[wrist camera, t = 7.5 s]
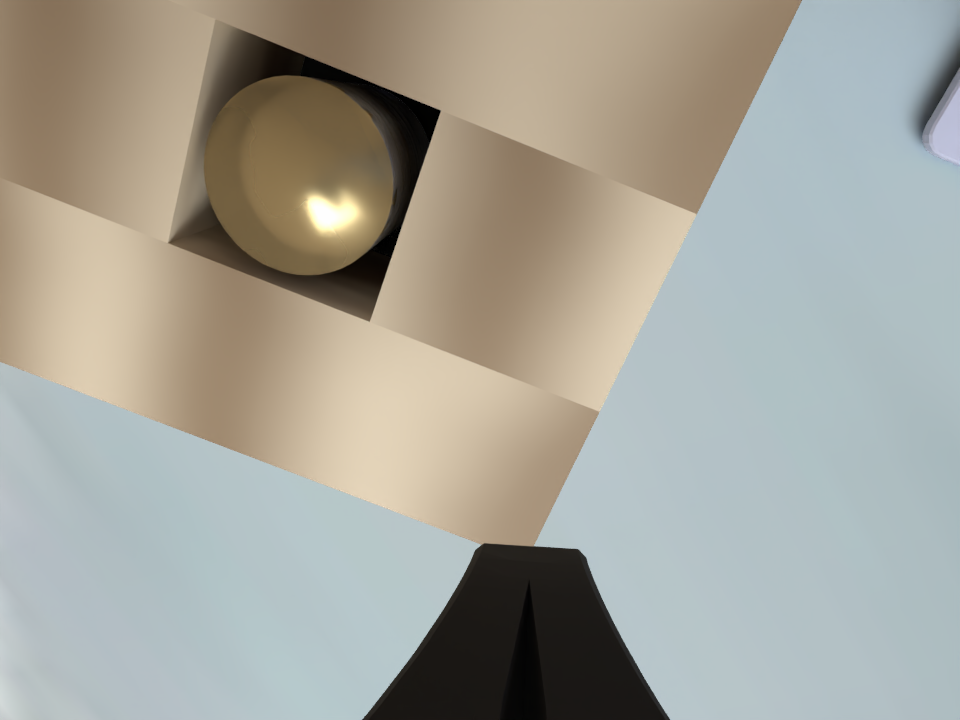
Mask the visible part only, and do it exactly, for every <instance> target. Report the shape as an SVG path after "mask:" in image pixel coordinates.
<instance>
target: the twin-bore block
mask: <svg viewBox="0 0 960 720" xmlns="http://www.w3.org/2000/svg"><path fill="white" fill-rule="evenodd" d="M801 1H802V0H0V362H2V363H5V364H8V365H10V366H13V367H16V368H18V369H21V370H23V371H26V372H29V373H31V374H34V375H37V376H39V377H42V378H45V379H47V380H50V381H52V382H55V383H58V384H60V385H63V386H66V387H68V388H71V389H73V390H76V391H79V392H81V393H84V394H87V395H89V396H92V397H95V398H97V399H100V400H102V401H105V402H108V403H110V404H113V405H116V406H118V407H121V408H123V409H126V410H129V411H131V412H134V413H137V414H139V415H142V416H145V417H147V418H150V419H152V420H155V421H158V422H160V423H163V424H166V425H168V426H171V427H174V428H176V429H179V430H181V431H184V432H187V433H189V434H192V435H195V436H197V437H200V438H202V439H205V440H208V441H210V442H213V443H216V444H218V445H221V446H224V447H226V448H229V449H231V450H234V451H237V452H239V453H242V454H245V455H247V456H250V457H253V458H255V459H258V460H260V461H263V462H266V463H268V464H271V465H274V466H276V467H279V468H281V469H284V470H287V471H289V472H292V473H295V474H297V475H300V476H303V477H305V478H308V479H310V480H313V481H316V482H318V483H321V484H324V485H326V486H329V487H331V488H334V489H337V490H339V491H342V492H345V493H347V494H350V495H353V496H355V497H358V498H360V499H363V500H366V501H368V502H371V503H374V504H376V505H379V506H382V507H384V508H387V509H389V510H392V511H395V512H397V513H400V514H403V515H405V516H408V517H410V518H413V519H416V520H418V521H421V522H424V523H426V524H429V525H432V526H434V527H437V528H439V529H442V530H445V531H447V532H450V533H453V534H455V535H458V536H460V537H463V538H466V539H468V540H471V541H474V542H476V543H479V544H482V545H483V544H484V543H489V544H504V545H520V546H534V544H535V542H536V540H537V538H538V536H539V534H540V532H541V530H542V528H543V526H544V524H545V522H546V520H547V518H548V516H549V514H550V511H551V509H552V507H553V505H554V503H555V501H556V499H557V497H558V495H559V493H560V491H561V489H562V487H563V485H564V483H565V481H566V479H567V477H568V475H569V473H570V471H571V469H572V467H573V465H574V463H575V461H576V459H577V457H578V455H579V453H580V450H581V448H582V446H583V444H584V442H585V440H586V438H587V436H588V434H589V432H590V430H591V428H592V426H593V424H594V422H595V420H596V418H597V416H598V414H599V412H600V410H601V408H602V406H603V404H604V402H605V400H606V398H607V396H608V394H609V392H610V389H611V387H612V385H613V383H614V381H615V379H616V377H617V375H618V373H619V371H620V369H621V367H622V365H623V363H624V361H625V359H626V357H627V355H628V353H629V351H630V349H631V347H632V345H633V343H634V341H635V339H636V337H637V335H638V333H639V331H640V329H641V326H642V324H643V322H644V320H645V318H646V316H647V314H648V312H649V310H650V308H651V306H652V304H653V302H654V300H655V298H656V296H657V294H658V292H659V290H660V288H661V286H662V284H663V282H664V280H665V278H666V276H667V274H668V272H669V270H670V268H671V265H672V263H673V261H674V259H675V257H676V255H677V253H678V251H679V249H680V247H681V245H682V243H683V241H684V239H685V237H686V235H687V233H688V231H689V229H690V227H691V225H692V223H693V221H694V219H695V217H696V215H697V213H698V211H699V209H700V207H701V204H702V202H703V200H704V198H705V196H706V194H707V192H708V190H709V188H710V186H711V184H712V182H713V180H714V178H715V176H716V174H717V172H718V170H719V168H720V166H721V164H722V162H723V160H724V158H725V156H726V154H727V152H728V150H729V148H730V146H731V144H732V141H733V139H734V137H735V135H736V133H737V131H738V129H739V127H740V125H741V123H742V121H743V119H744V117H745V115H746V113H747V111H748V109H749V107H750V105H751V103H752V101H753V99H754V97H755V95H756V93H757V91H758V89H759V87H760V85H761V83H762V80H763V78H764V76H765V74H766V72H767V70H768V68H769V66H770V64H771V62H772V60H773V58H774V56H775V54H776V52H777V50H778V48H779V46H780V44H781V42H782V40H783V38H784V36H785V34H786V32H787V30H788V28H789V26H790V24H791V22H792V19H793V17H794V15H795V13H796V11H797V9H798V7H799V5H800V3H801ZM305 56H308V57H310V58H313V59H315V60H317V61H320V62H322V63H325V64H327V65H330V66H332V67H335V68H337V69H340V70H342V71H345V72H347V73H350V74H352V75H355V76H357V77H359V78H362V79H364V80H367V81H369V82H372V83H374V84H377V85H379V86H382V87H384V88H387V89H389V90H392V91H394V92H396V93H399V94H401V95H404V96H406V97H409V98H411V99H414V100H416V101H419V102H421V103H424V104H426V105H429V106H431V107H434V108H436V109H438V110H441V112H440V115H439V118H438V121H437V124H436V127H435V130H434V133H433V136H432V139H431V142H430V145H429V148H428V151H427V154H426V157H425V160H424V163H423V166H422V169H421V171H420V174H419V177H418V180H417V183H416V186H415V189H414V192H413V195H412V198H411V201H410V204H409V207H408V210H407V213H406V216H405V219H404V222H403V225H402V228H401V231H400V234H399V237H398V240H397V243H396V246H395V249H394V252H393V255H392V258H390V257H388V256H385V255H383V254H380V253H378V252H375V251H372V250H369V251H368V252H366V253H365V254H364V255H363V256H361V257H360V258H358V259H357V260H356V261H354V262H353V263H351V264H349V265H347V266H346V267H344V268H341V269H339V270H336V271H333V272H330V273H325V274H320V275H296V274H291V273H285V272H282V271H279V270H276V269H273V268H271V267H269V266H267V265H264V264H262V263H261V262H259V261H257V260H256V259H254V258H253V257H251V256H250V255H249V254H247V253H246V252H245V251H243V250H242V249H241V248H240V247H239V246H238V245H237V244H236V243H235V242H234V241H233V240H232V239H231V237H230V236H229V235H228V234H227V232H226V231H225V230H224V228H223V227H222V225H221V224H220V222H219V220H218V219H217V217H216V214H215V212H214V210H213V208H212V206H211V203H210V200H209V197H208V194H207V189H206V185H205V178H204V153H205V147H206V142H207V138H208V135H209V132H210V129H211V127H212V125H213V123H214V120H215V119H216V117H217V115H218V114H219V112H220V111H221V109H222V108H223V107H224V106H225V105H226V103H227V102H228V101H229V100H230V99H231V98H232V97H233V96H235V95H236V94H237V93H238V92H239V91H241V90H242V89H244V88H246V87H247V86H249V85H251V84H253V83H255V82H258V81H260V80H263V79H267V78H271V77H276V76H285V75H287V76H300V75H301V71H302V67H303V63H304V59H305Z"/></svg>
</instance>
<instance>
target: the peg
mask: <svg viewBox="0 0 960 720" xmlns="http://www.w3.org/2000/svg"><path fill="white" fill-rule="evenodd" d="M428 148H429V141H428V138H427V135H426V133H425V130H424V128H423V127H422V125H421V123H420V121H419V120H418V118H417V117H416V115H415V114H414V113H413V111H412V110H411V109H410V108H409V107H408V106H407V105H406V104H405V103H404V102H403V101H401V100H400V99H399V98H397V97H396V96H394V95H393V94H391V93H390V92H387V91H385V90H383V89H381V88H378V87H375V86H371V85H366V84H359V83H351V82H343V81H335V80H327V79H319V78H311V77H303V76H287V75H285V76H276V77H271V78H267V79H263V80H260V81H258V82H255V83H253V84H251V85H249V86H247V87H246V88H244V89H242V90H241V91H239V92H238V93H237V94H236V95H235V96H233V97H232V98H231V99H230V100H229V101H228V102H227V103H226V105H225V106H224V107H223V108H222V109H221V111H220V112H219V114H218V115H217V117H216V119H215V120H214V123H213V125H212V127H211V129H210V132H209V135H208V138H207V142H206V147H205V153H204V178H205V185H206V189H207V194H208V197H209V200H210V203H211V206H212V208H213V210H214V212H215V214H216V217H217V219H218V220H219V222H220V224H221V225H222V227H223V228H224V230H225V231H226V232H227V234H228V235H229V236H230V237H231V239H232V240H233V241H234V242H235V243H236V244H237V245H238V246H239V247H240V248H241V249H242V250H243V251H245V252H246V253H247V254H249V255H250V256H251V257H253V258H254V259H256V260H257V261H259V262H261V263H262V264H264V265H267V266H269V267H271V268H273V269H276V270H279V271H282V272H285V273H291V274H296V275H320V274H325V273H330V272H333V271H336V270H339V269H341V268H344V267H346V266H347V265H349V264H351V263H353V262H354V261H356V260H357V259H358V258H360V257H361V256H363V255H364V254H365V253H366V252H368V251H369V250H370V249H371V248H373V247H374V246H375V245H376V244H378V243H379V242H380V241H381V240H383V239H384V238H385V237H387V236H388V235H389V234H390V233H392V232H393V231H394V230H395V229H397V228H398V227H399V226H400V225H402V224H403V222H404V219H405V216H406V213H407V210H408V207H409V204H410V201H411V198H412V195H413V192H414V189H415V186H416V183H417V180H418V177H419V174H420V171H421V169H422V166H423V163H424V160H425V157H426V154H427V151H428Z"/></svg>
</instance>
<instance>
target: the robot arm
mask: <svg viewBox="0 0 960 720" xmlns="http://www.w3.org/2000/svg"><path fill="white" fill-rule="evenodd" d="M922 140H923V145H924V147H925V149H926V151H928V152H929V153H931V154H932V155H934V156H936V157H939V158H941V159H943V160H946V161H948V162H951V163H953V164H955V165H958V166H960V68H959V70H958V71H957V73H956V75H955V76H954V78H953V80H952V82H951V83H950V85H949V87H948V88H947V90H946V92H945V94H944V95H943V97H942V99H941V100H940V102H939V104H938V105H937V107H936V109H935V111H934V112H933V114H932V116H931V117H930V119H929V121H928V123H927V124H926V126H925V129H924V131H923V134H922ZM362 720H670V719H669V717H668V716H667V714H666V713H665V711H664V710H663V708H662V707H661V705H660V703H659V702H658V700H657V698H656V697H655V695H654V694H653V692H652V690H651V689H650V687H649V685H648V684H647V682H646V680H645V679H644V677H643V675H642V673H641V672H640V670H639V668H638V666H637V664H636V663H635V661H634V659H633V657H632V656H631V654H630V652H629V650H628V649H627V647H626V645H625V643H624V642H623V640H622V638H621V636H620V634H619V632H618V630H617V628H616V626H615V624H614V623H613V621H612V618H611V616H610V614H609V612H608V610H607V608H606V606H605V604H604V602H603V600H602V598H601V595H600V593H599V591H598V589H597V586H596V584H595V582H594V579H593V577H592V574H591V571H590V569H589V566H588V563H587V559H586V557H585V556H584V555H583V554H582V553H581V552H580V551H579V550H578V549H566V548H551V547H535V546H520V545H504V544H489V543H484V544H483V545H481V546H480V547H479V548H477V549H476V550H475V552H474V555H473V557H472V559H471V562H470V564H469V566H468V568H467V570H466V572H465V574H464V576H463V577H462V579H461V581H460V583H459V585H458V586H457V588H456V590H455V592H454V593H453V595H452V596H451V598H450V600H449V601H448V603H447V605H446V606H445V608H444V610H443V611H442V613H441V614H440V616H439V617H438V619H437V620H436V622H435V623H434V625H433V626H432V628H431V629H430V631H429V632H428V634H427V635H426V637H425V638H424V640H423V641H422V643H421V644H420V646H419V647H418V648H417V650H416V651H415V653H414V654H413V655H412V657H411V658H410V660H409V661H408V662H407V664H406V665H405V666H404V667H403V669H402V670H401V671H400V673H399V674H398V675H397V677H396V678H395V679H394V680H393V682H392V683H391V684H390V686H389V687H388V688H387V689H386V691H385V692H384V693H383V695H382V696H381V697H380V698H379V700H378V701H377V702H376V704H375V705H374V706H373V707H372V709H371V710H370V711H369V712H368V714H367V715H366V716H365V717H364V718H363V719H362Z"/></svg>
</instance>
